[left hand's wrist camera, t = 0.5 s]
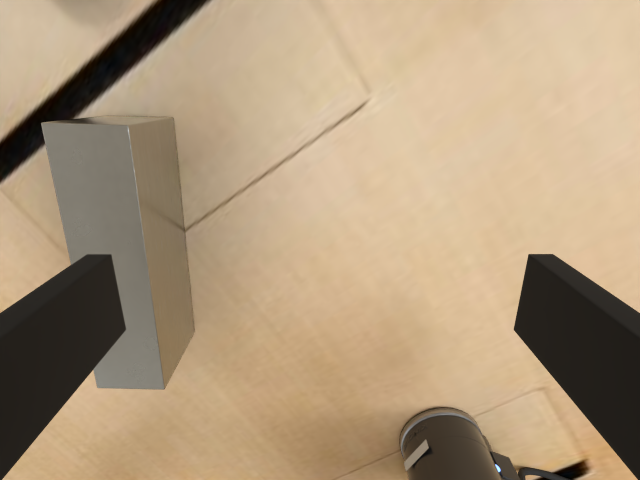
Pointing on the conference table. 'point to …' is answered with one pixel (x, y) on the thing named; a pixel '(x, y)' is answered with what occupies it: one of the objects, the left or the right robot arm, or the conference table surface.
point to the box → (128, 234)
